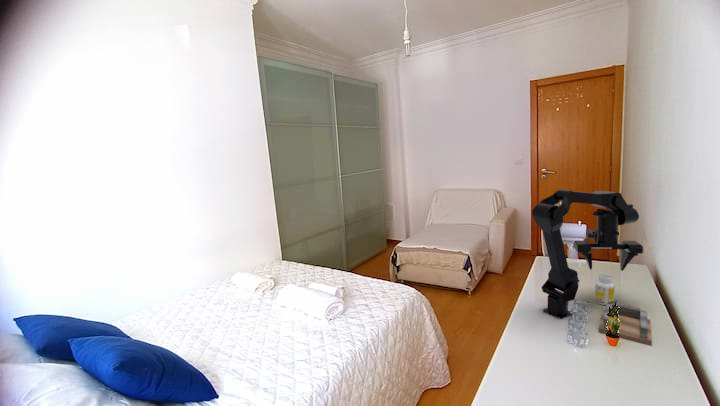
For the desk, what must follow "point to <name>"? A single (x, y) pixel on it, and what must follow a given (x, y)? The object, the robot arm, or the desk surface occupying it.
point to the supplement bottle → (604, 290)
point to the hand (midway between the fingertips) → (605, 269)
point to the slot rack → (629, 323)
